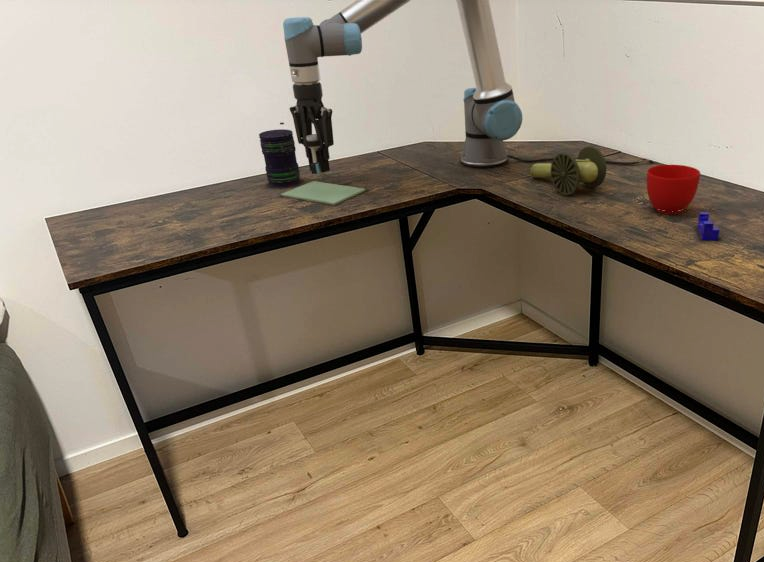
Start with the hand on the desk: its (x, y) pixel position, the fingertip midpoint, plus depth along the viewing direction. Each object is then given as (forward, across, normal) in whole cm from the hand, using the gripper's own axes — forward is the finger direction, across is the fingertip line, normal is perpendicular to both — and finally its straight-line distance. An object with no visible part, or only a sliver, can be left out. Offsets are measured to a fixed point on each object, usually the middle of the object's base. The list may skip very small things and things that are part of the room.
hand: (319, 170), depth 191 cm
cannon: (+7, +60, +35) cm, 70 cm away
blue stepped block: (+7, +106, +14) cm, 107 cm away
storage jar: (+7, -19, +4) cm, 21 cm away
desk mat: (+7, -1, +1) cm, 7 cm away
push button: (0, 0, 0) cm, 1 cm away
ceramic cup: (+7, +93, +29) cm, 98 cm away
